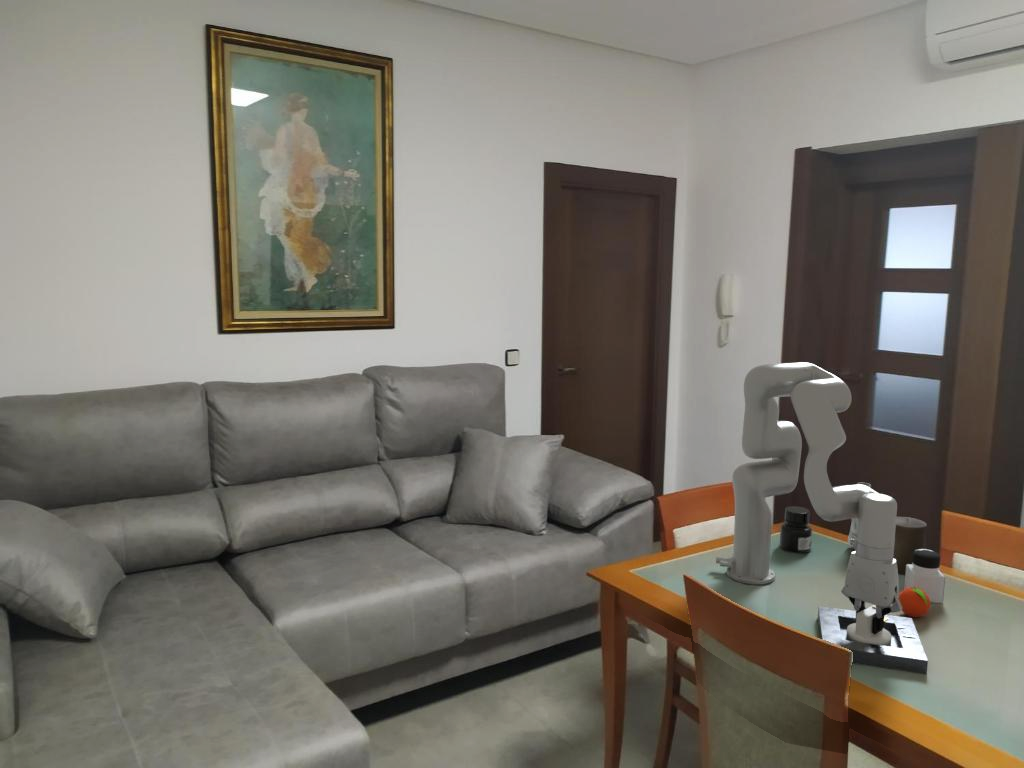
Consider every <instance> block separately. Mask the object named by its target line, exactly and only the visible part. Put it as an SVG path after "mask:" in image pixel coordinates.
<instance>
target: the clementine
mask: <svg viewBox="0 0 1024 768" xmlns="http://www.w3.org/2000/svg"><path fill="white" fill-rule="evenodd" d="M898 598H899V601H900V603H901V606H902V610H901V611H902V612H903V613H904V614H905V615H907V616H909V617H910V618H911V617H913V618H921V617H924V616H925V615H926V614H928V613H929V611H930V609H931V602H930V599H929V597H928V596H927V594H926V593H925V592H924V591H922V590H921V589H919V588H915V587H909V588H906V589H903V590H902V591H901V592H900V593H898Z"/></svg>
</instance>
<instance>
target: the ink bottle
mask: <svg viewBox="0 0 1024 768" xmlns="http://www.w3.org/2000/svg"><path fill="white" fill-rule="evenodd" d="M809 523H810V510H809V509H808V508H806V507H802V506H797V505H794V506H787V507H785V509H784V522H783V523H782V524H781V525H780V533H779V548H780V549H782V550H784V551H786V552H790V553H795V554H806V553H809V552H810V551H811V550H812V546H813V545H812V543H813V542H812V540H813V528H812V527H811V526H810V524H809Z"/></svg>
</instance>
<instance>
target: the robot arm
mask: <svg viewBox="0 0 1024 768" xmlns="http://www.w3.org/2000/svg"><path fill="white" fill-rule="evenodd" d="M743 395H744V397H743V398H744V416H743V426H742V434H741V435H742V437H741V449H742V452H743V454H744V456H746V457H747V458H749V459H752V460H759V461H752V462H751V461H750V462H746V463H742V464H741V465H739V466H737V467H736V468H735V469H734V471H733V473H732V478H731V479H732V480H731V482H732V489H733V495H734V526H733V527H734V528H733V530H734V531H733V532H734V534H733V549H732V550H733V553H732V554H731V556H728V557H724V556H719V555H718V556H715V564H719V566H720V567H726V574H727V577H729V578H730V577H731V578H730V579H731V580H734V581H736V582H740V583H743V584H748V585H766V584H771V583H772V582H774V581H775V579H776V573H775V572H774V570H773V569H772V568H771V567H770V566H771V565H770V563H771V545H772V544H771V542H772V525H773V522H772V520H773V515H772V510H771V507H770V506H769V505H768V502H767V500H766V499H767V498H768V497H769V498H770V497H775V496H776V497H777V496H781V495H782V496H783V495H787V494H790V493H791V492H793V491H794V490H795V489H796V487H797V484H798V481H799V473H800V466H801V457H802V447H803V442H802V440H803V439H802V435H801V432H800V430H799V427H797V426H796V425H795V424H794V423H793V422H792V421H788V420H779V414H780V409H779V408H780V407H779V404H778V402H777V400H776V398H782V397H784V398H785V397H790V400H791V404H792V406H793V409H794V411H795V414H796V417H797V419H798V423H799V424H800V428H801V430H802V433H803V434H804V435H803V436H804V438H805V440H806V443H807V446H808V452H807V453H808V454H807V456H806V457H805V458H806V459H805V461H804V468H803V469H804V470H803V483H804V487H805V490H806V491H805V492H806V494H807V497H808V498H809V500H810V504H811V506H812V507H813V509H814V511H815V513H816V514H817V515H818V517H820V518H821V519H822V520H823V521H826V522H830V523H831V522H839V521H846V520H852V519H856V518H858V522H857V537H856V539H855V540H853V539H851V541H850V545H853V546H854V547H855V550H854V551H852V552H851V553H850V557H849V559H848V564H847V568H846V572H845V573H846V574H845V581H844V586H843V588H842V589H841V590H840V592H841V594H842V595H843V596H845V597H846V598H847V599H848V600H849V601H850V603H851V605H853V609H854V611H856V616H857V613H858V612H861V611H863V610H865V609H867V607H866V603H867V604H870V605H872V606H873V605H876V616H874V617H873V626H872V633H873V634H875V635H876V634H877V633H879V632H880V631H882V630H883V626H884V616H885V615H890V614H891V613H898V612H901V611H902V606H901V603H900V601H899V598H898V597H899V586H900V585H899V574H898V569H897V563H896V559H894V558H893V556H894V542H895V529H896V517H898V516H897V511H898V503H897V501H896V499H895V498H893V497H892V496H890V495H887V494H883V493H879V492H878V491H876V490H874V489H873V488H872V487H871V488H870V487H868V486H866V485H863V484H857V483H856V484H855V483H854V484H845V485H838V486H837V485H836V486H832V483H831V481H830V479H829V475H828V471H827V469H828V467H827V464H828V461H829V458H830V456H831V454H832V453H833V452H834V451H836V450H837V449H839V448H841V446H843V445H844V444H845V442H846V441H847V435H846V432H845V430H844V428H843V426H842V424H841V421H840V418H839V415H838V413H842V412H845V411H847V410H848V408H849V407H850V406H851V404H852V393H851V390H850V388H849V386H848V385H847V383H846V382H845V381H844V380H842V379H841V378H840V377H838V376H836V375H835V374H833V373H831V372H828V371H827V370H825V369H824V368H822V367H819V366H817V365H816V364H814V363H810V362H805V361H804V362H803V361H801V362H797V361H796V362H780V363H779V362H778V363H769V364H768V363H767V364H761V365H758V366H755V367H753V368H751V369H750V370H749V371H748V373H746V376H745V378H744V381H743ZM762 459H763V460H762ZM764 459H770V460H764ZM855 621H856V620H855Z"/></svg>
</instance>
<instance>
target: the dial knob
mask: <svg viewBox="0 0 1024 768" xmlns="http://www.w3.org/2000/svg"><path fill="white" fill-rule="evenodd" d="M874 616H876V605H873V604H872V605H871V606H869V607H866V609H865V610H863V611H861V612H858V613H857V616H856V623H853V624H850V625H849V626H848V627H847V637H848V639H849V640H850V641H854V642H861V643H868V644H875V645H883V646H890V645H891V637H892V636H891V634H890V632H889V631H887V630H886V629H884V628H883V630H882V631H880V632H879V633H877V634H876V635H875V634H873V633H872V626H873V617H874Z"/></svg>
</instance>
